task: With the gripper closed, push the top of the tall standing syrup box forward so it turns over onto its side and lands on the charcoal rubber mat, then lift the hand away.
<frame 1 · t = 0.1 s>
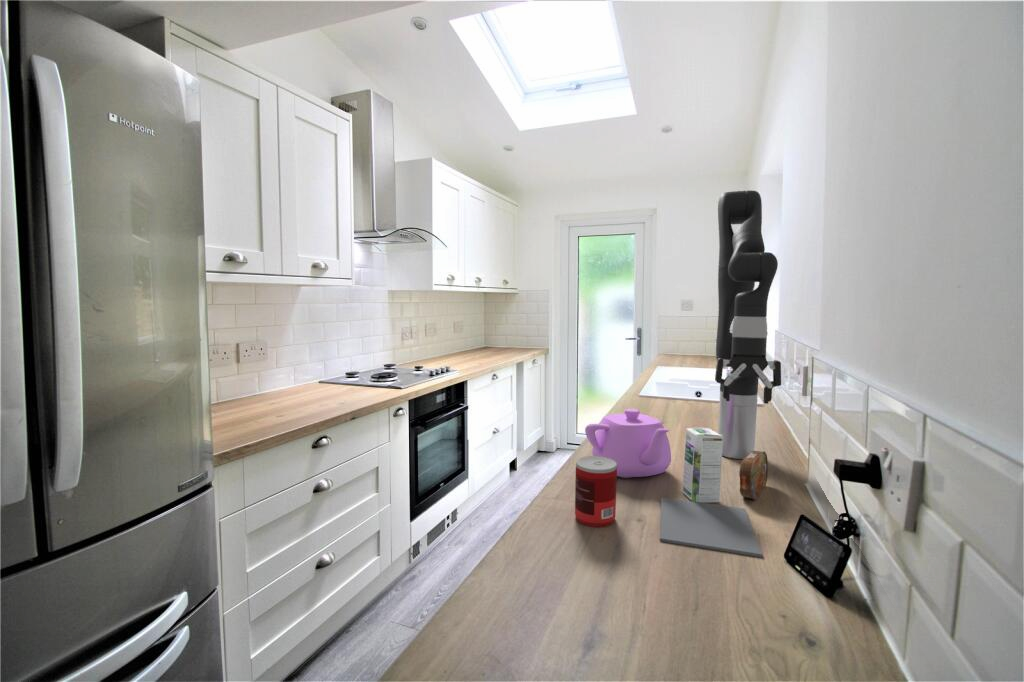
hand: (746, 401, 115), 17 cm above the counter, tool pointing down, fingers open, 8 cm apart
syrup box: (700, 498, 100), on the counter
teapot: (632, 471, 116), on the counter
tin: (752, 493, 104), on the counter
canned food: (594, 519, 90), on the counter
mat: (705, 524, 88), on the counter
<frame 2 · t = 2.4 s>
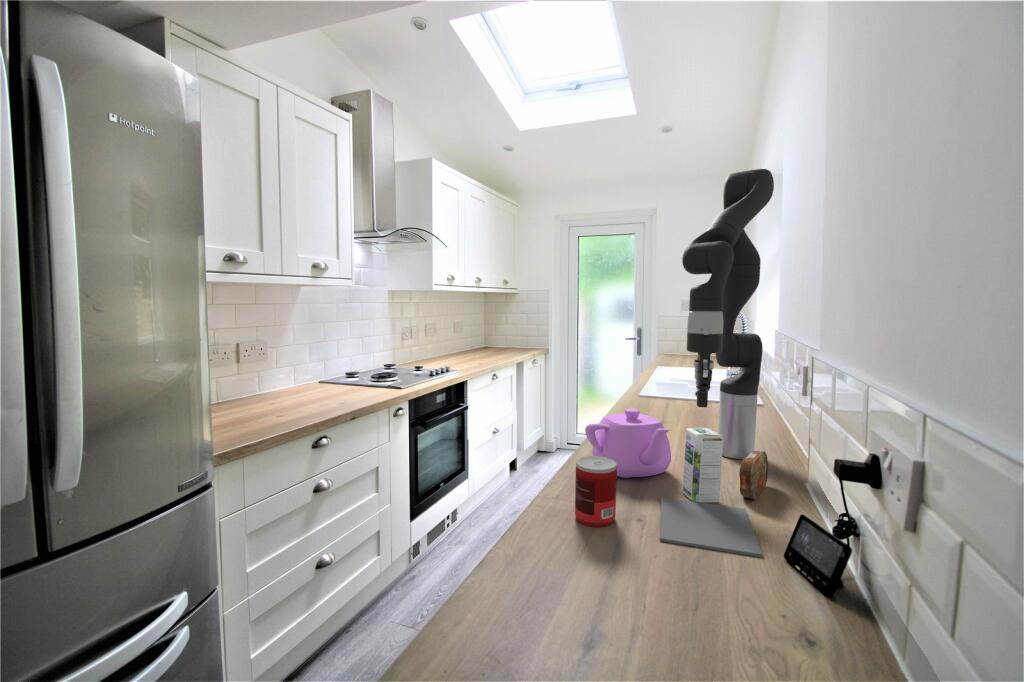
hand: (701, 406, 108), 18 cm above the counter, tool pointing down, fingers closed
nothing on the counter moved.
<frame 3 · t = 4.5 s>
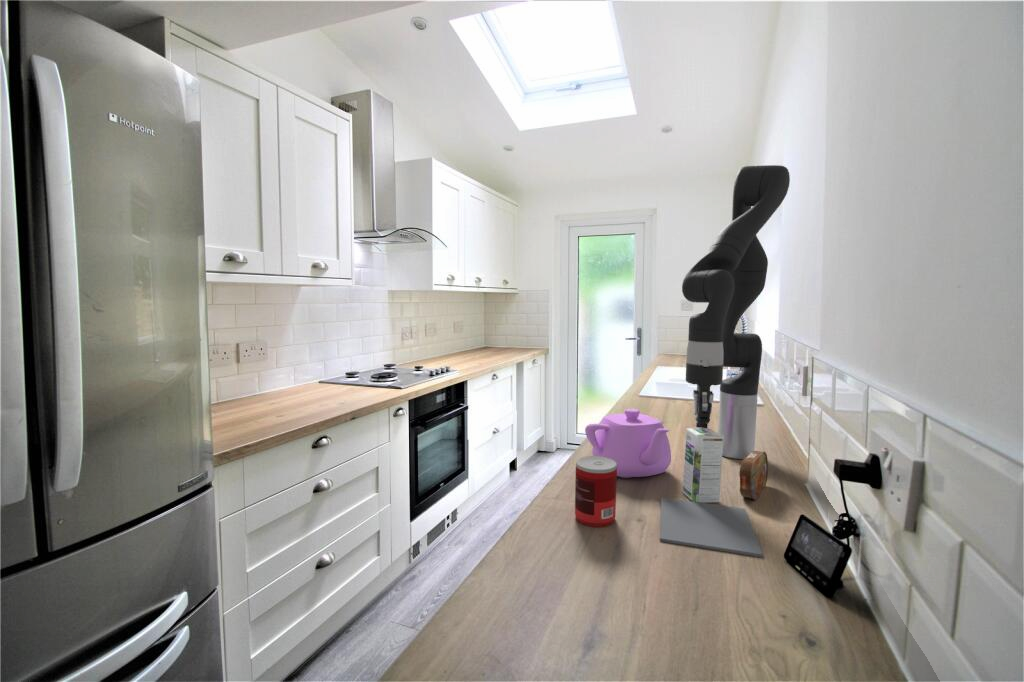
hand: (701, 439, 105), 11 cm above the counter, tool pointing down, fingers closed
syrup box: (700, 498, 100), on the counter, touching gripper
everything else where it was.
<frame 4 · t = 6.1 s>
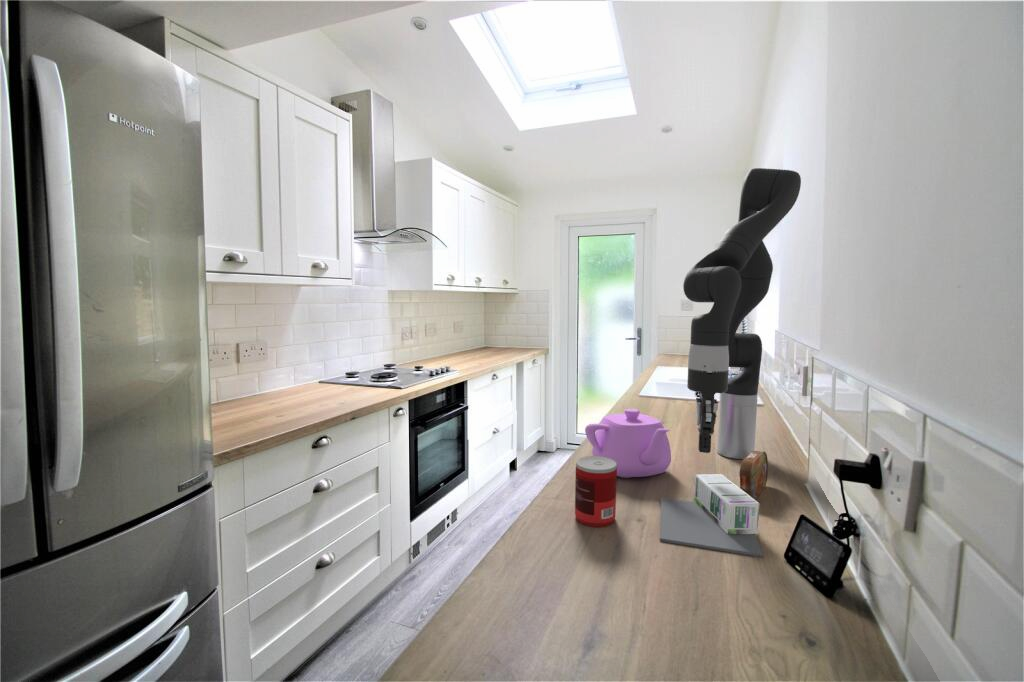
hand: (704, 451, 96), 11 cm above the counter, tool pointing down, fingers closed
syrup box: (707, 486, 98), point 3 cm above the counter, touching mat
everything else where it was.
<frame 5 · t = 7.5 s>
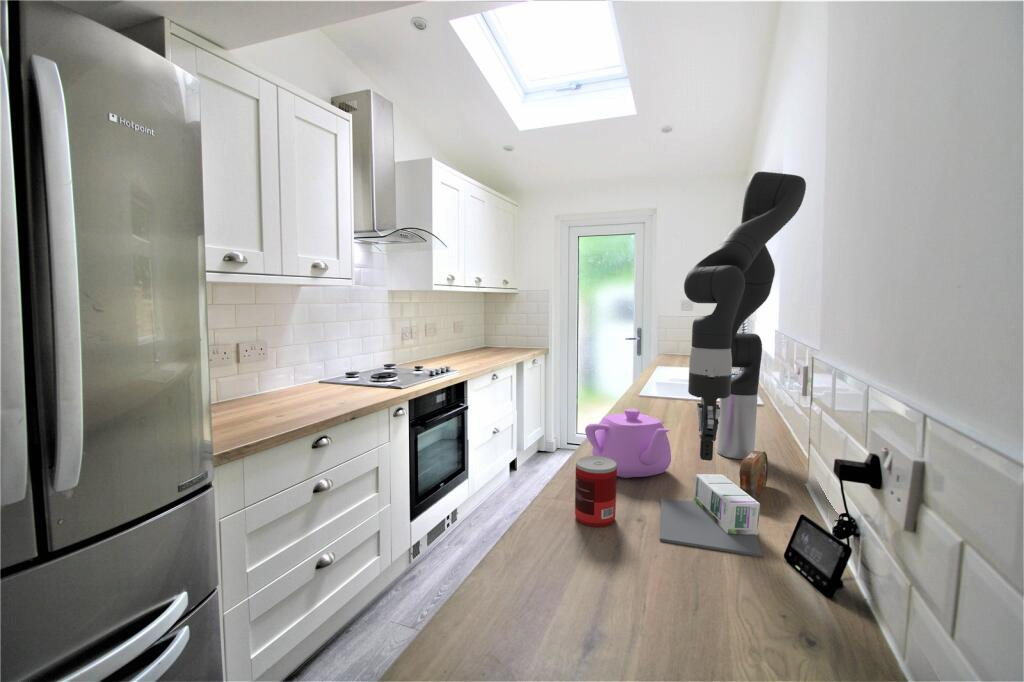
hand: (705, 459, 92), 11 cm above the counter, tool pointing down, fingers closed
nothing on the counter moved.
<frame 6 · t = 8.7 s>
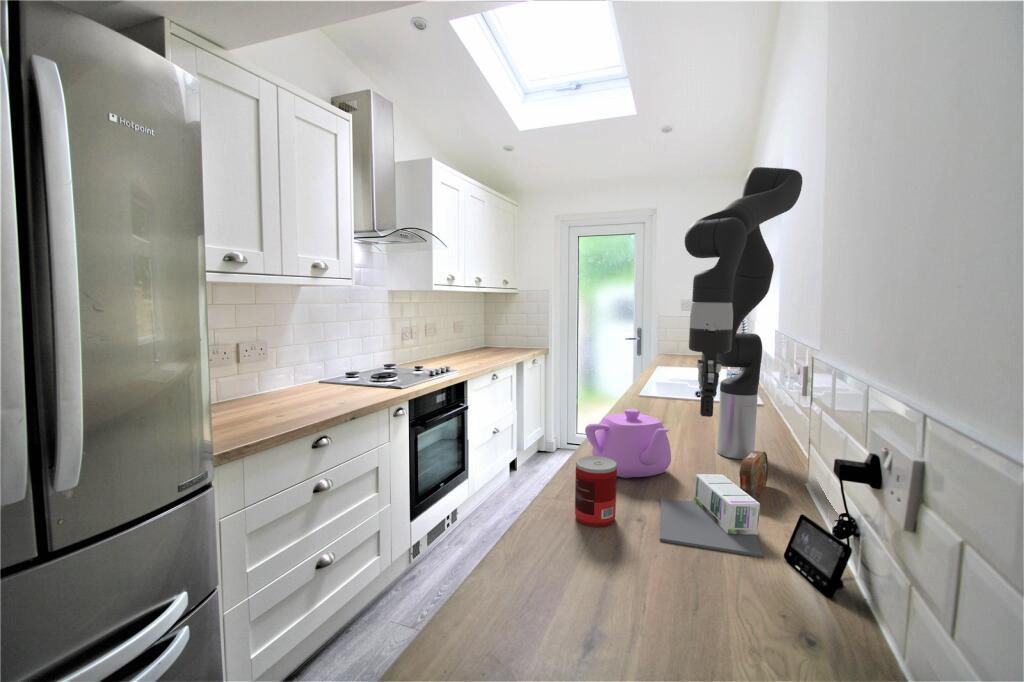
hand: (706, 415, 91), 20 cm above the counter, tool pointing down, fingers closed
nothing on the counter moved.
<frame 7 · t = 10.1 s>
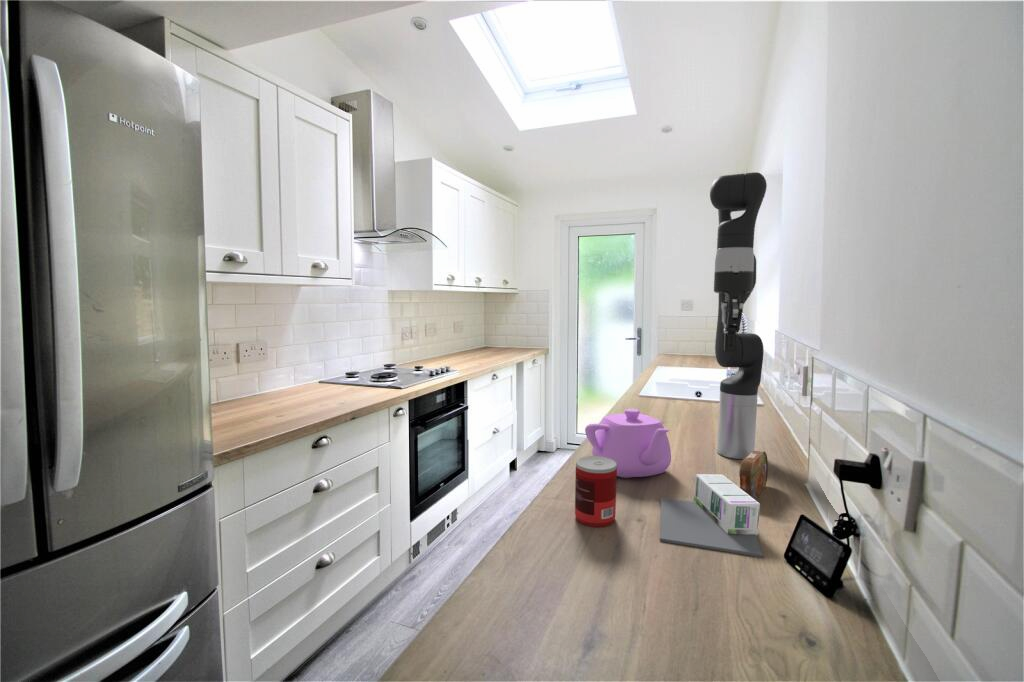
hand: (729, 351, 102), 31 cm above the counter, tool pointing down, fingers closed
nothing on the counter moved.
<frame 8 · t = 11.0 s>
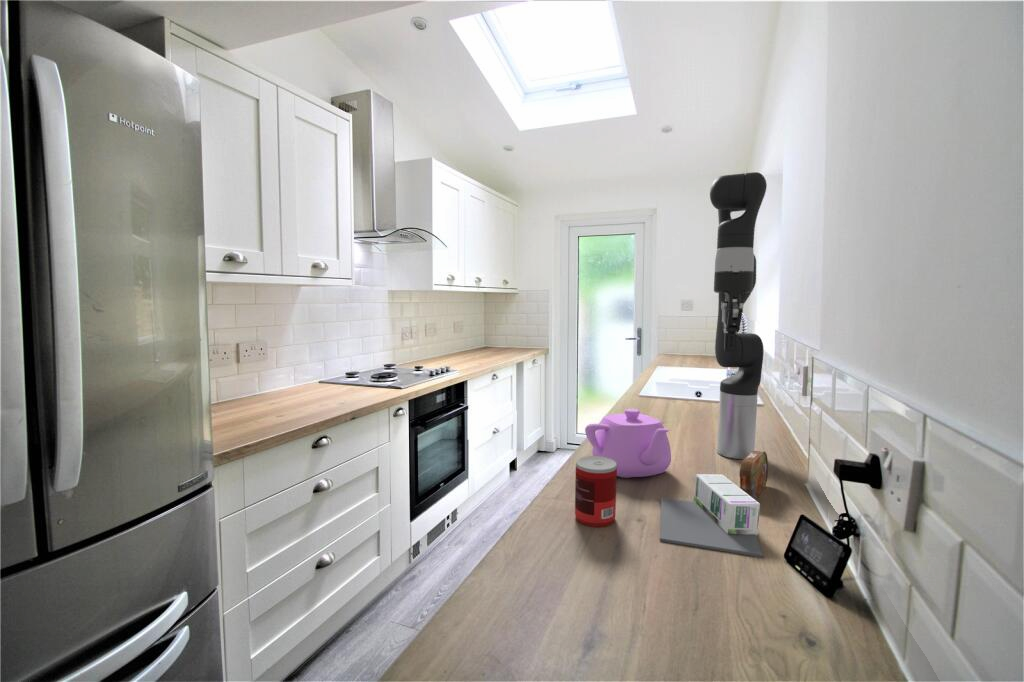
hand: (729, 351, 102), 31 cm above the counter, tool pointing down, fingers closed
nothing on the counter moved.
at the end: syrup box tilted 90°; syrup box touching mat; syrup box inside the target area (6.0 cm from its centre), point 3.4 cm above the counter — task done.
